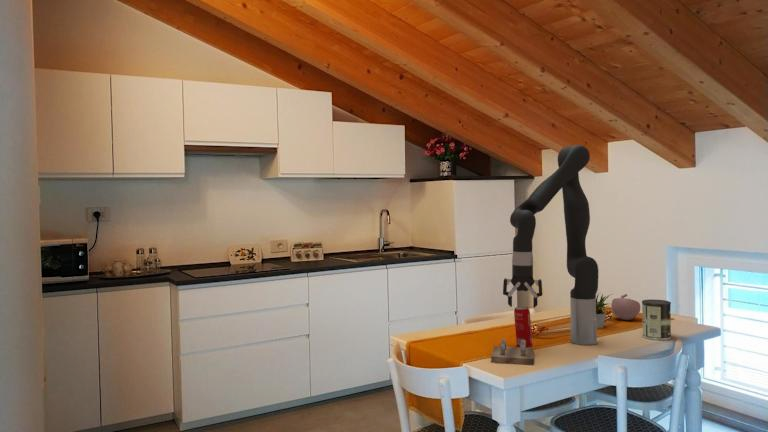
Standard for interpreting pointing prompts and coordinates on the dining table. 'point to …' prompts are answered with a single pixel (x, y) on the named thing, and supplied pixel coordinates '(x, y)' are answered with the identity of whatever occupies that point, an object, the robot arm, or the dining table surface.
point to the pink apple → (625, 308)
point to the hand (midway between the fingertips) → (522, 306)
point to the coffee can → (656, 319)
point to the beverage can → (523, 326)
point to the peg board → (513, 354)
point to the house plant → (600, 311)
